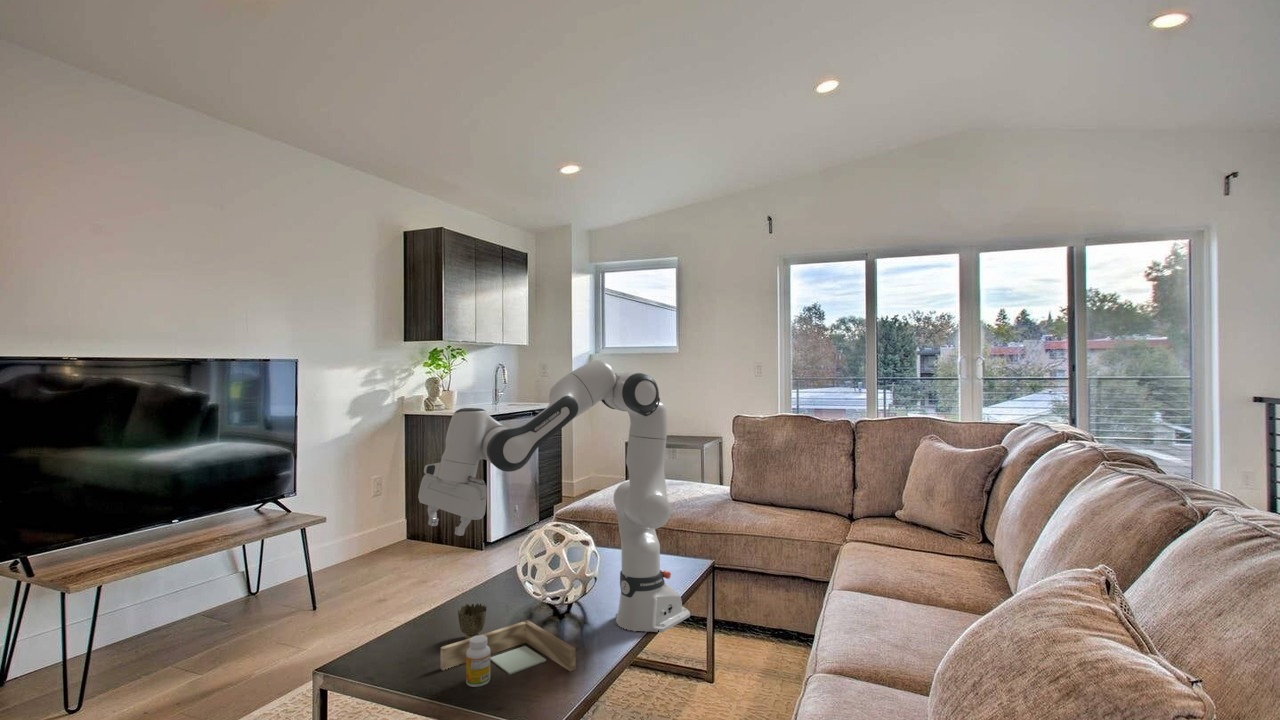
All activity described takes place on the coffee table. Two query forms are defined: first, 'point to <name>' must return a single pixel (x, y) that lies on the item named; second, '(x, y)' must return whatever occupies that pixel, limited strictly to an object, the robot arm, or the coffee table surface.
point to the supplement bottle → (478, 662)
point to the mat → (517, 659)
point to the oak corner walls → (511, 638)
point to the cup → (472, 619)
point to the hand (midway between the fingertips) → (445, 530)
